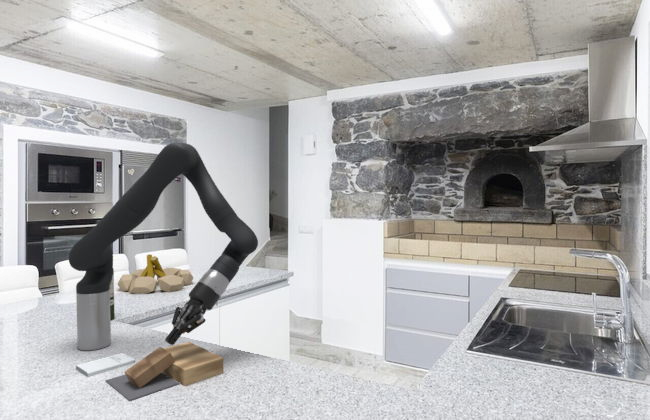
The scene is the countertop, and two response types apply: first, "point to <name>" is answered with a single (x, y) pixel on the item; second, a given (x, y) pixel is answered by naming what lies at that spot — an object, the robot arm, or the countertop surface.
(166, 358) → the brown wood brick
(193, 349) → the wooden block
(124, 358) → the external hard drive
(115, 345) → the countertop surface
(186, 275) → the campfire
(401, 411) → the countertop surface
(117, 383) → the mat
